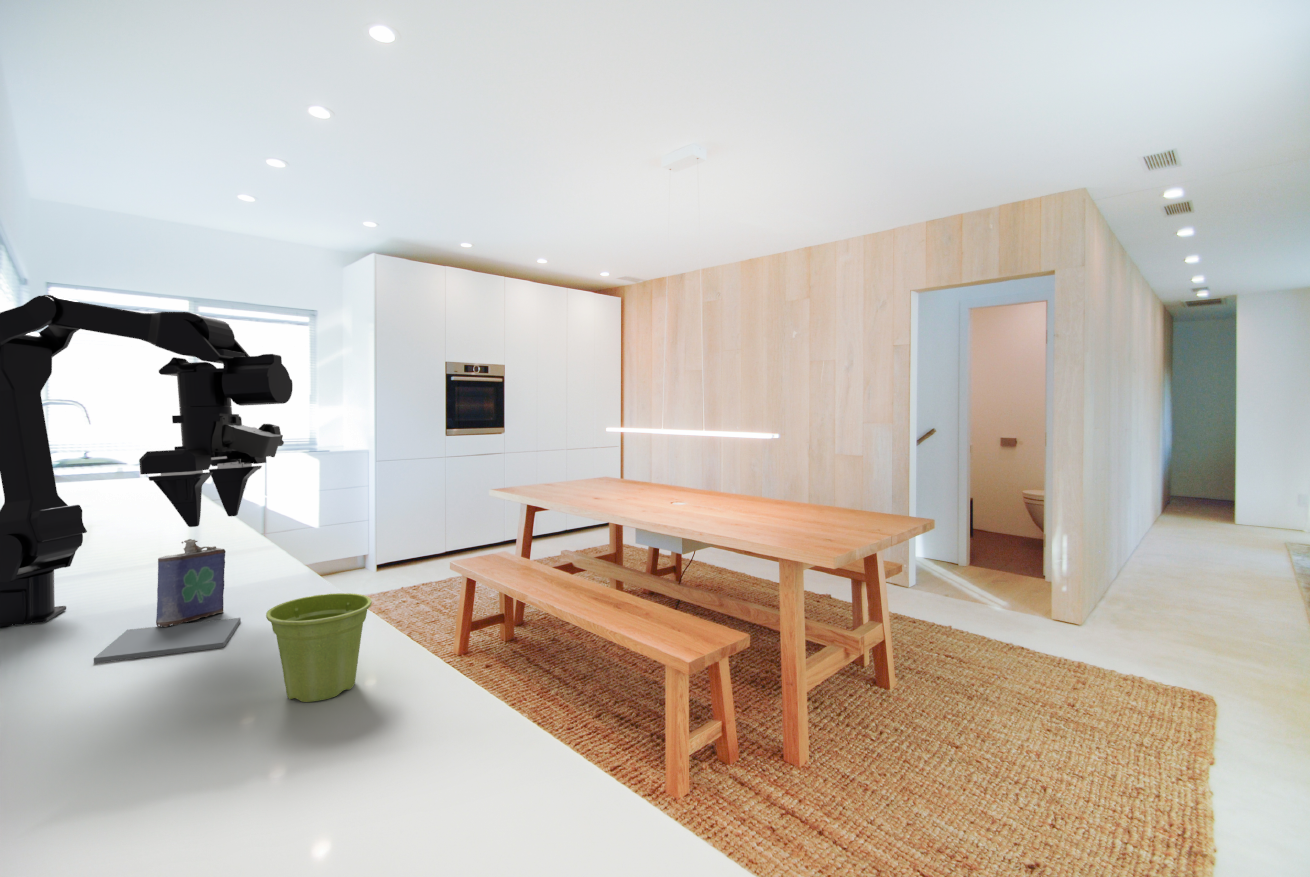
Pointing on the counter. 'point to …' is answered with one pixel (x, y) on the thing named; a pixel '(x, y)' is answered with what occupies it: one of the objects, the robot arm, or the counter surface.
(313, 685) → the plant pot
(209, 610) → the flask
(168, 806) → the counter surface
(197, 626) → the serving mat
